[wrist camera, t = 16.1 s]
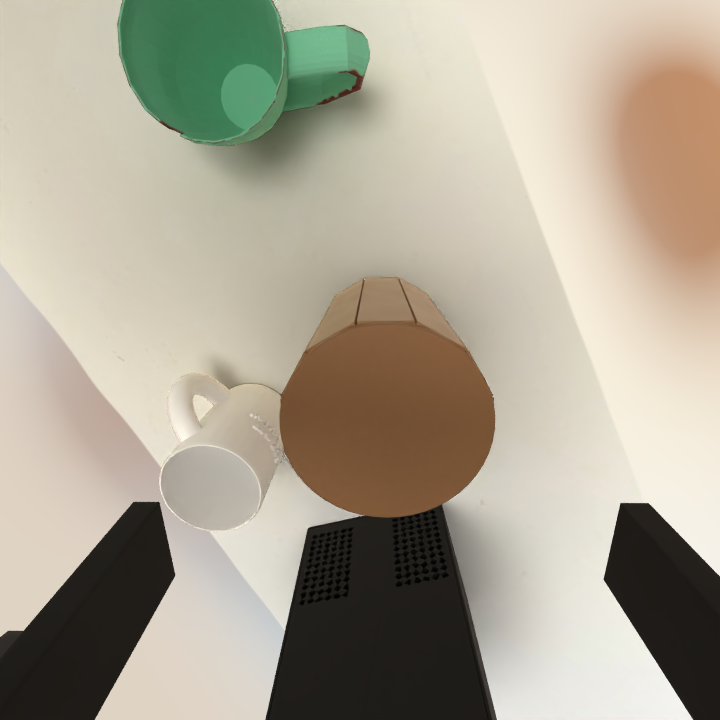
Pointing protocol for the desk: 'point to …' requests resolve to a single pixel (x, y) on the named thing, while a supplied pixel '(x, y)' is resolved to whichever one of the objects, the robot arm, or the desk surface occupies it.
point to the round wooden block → (386, 404)
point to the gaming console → (380, 627)
